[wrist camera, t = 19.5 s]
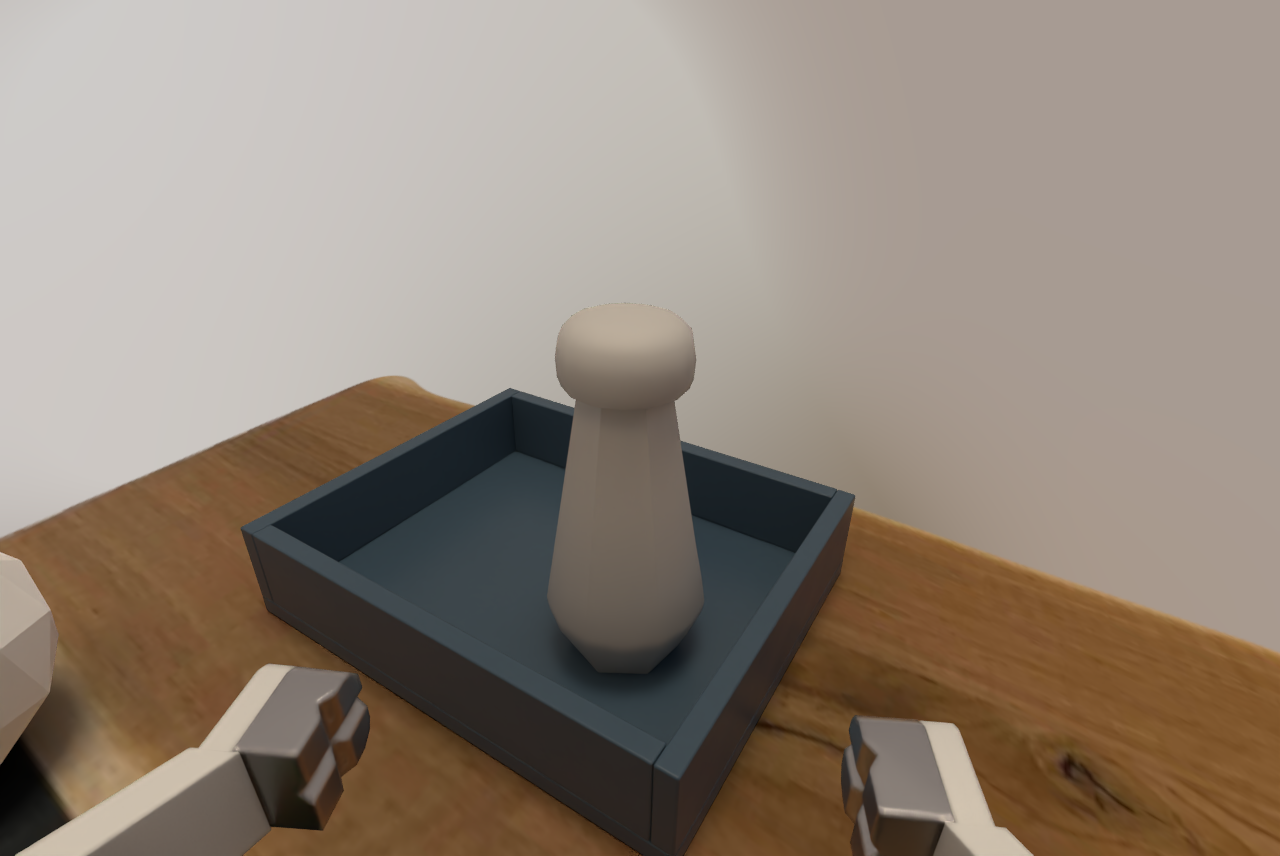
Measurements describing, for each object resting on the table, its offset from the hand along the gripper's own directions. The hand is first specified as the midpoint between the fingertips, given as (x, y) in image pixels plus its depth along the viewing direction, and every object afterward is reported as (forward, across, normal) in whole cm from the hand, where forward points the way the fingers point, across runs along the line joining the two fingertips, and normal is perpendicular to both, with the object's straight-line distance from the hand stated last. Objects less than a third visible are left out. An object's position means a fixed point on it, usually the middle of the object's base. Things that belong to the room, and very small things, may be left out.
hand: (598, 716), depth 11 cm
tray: (+15, +4, +11) cm, 19 cm away
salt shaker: (+12, +1, +10) cm, 16 cm away
